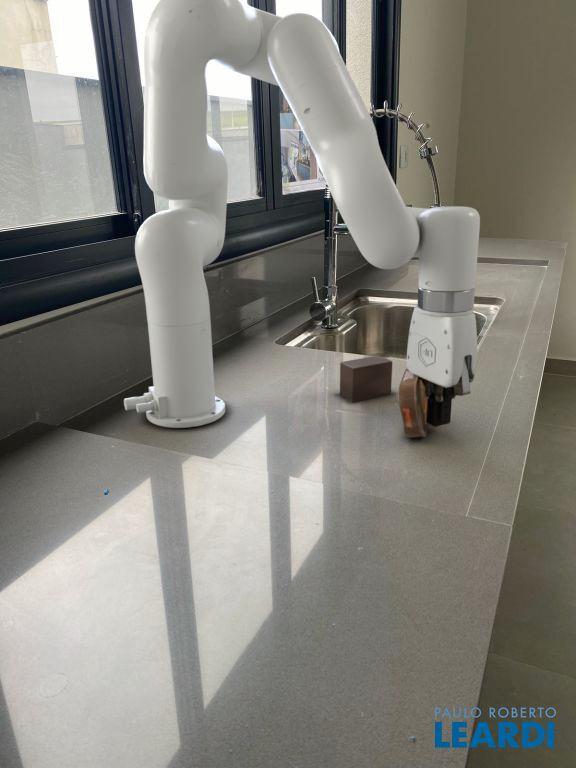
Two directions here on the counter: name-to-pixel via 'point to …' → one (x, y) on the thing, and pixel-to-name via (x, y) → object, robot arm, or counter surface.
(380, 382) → the block
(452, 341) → the robot arm
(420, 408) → the tin
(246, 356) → the counter surface
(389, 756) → the counter surface
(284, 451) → the counter surface
